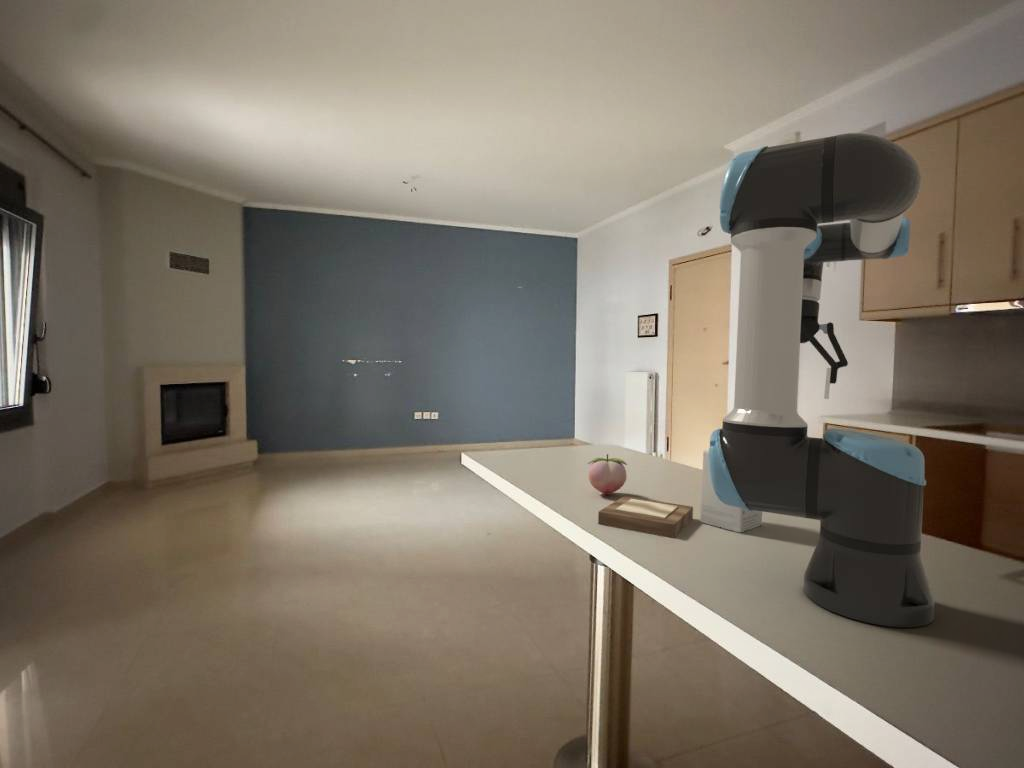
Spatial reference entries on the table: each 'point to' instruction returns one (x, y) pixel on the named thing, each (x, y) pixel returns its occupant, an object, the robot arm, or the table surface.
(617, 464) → the decorative fruit
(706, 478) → the supplement box
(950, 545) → the table surface
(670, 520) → the block
